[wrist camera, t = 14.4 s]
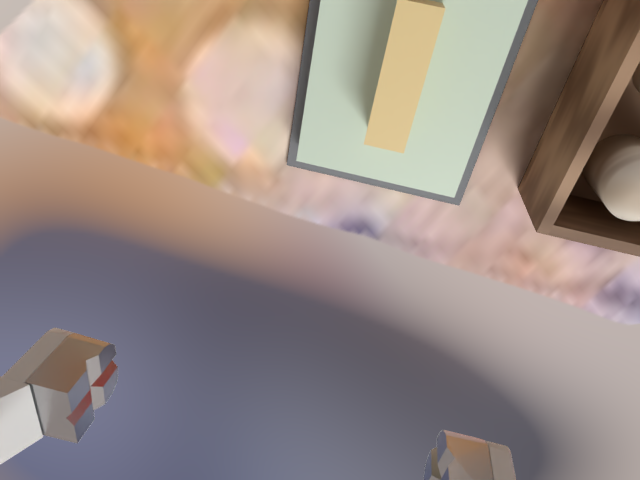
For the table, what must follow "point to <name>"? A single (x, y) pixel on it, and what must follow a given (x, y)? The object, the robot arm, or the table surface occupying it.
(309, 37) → the mat
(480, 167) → the table surface
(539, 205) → the box
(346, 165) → the lid
